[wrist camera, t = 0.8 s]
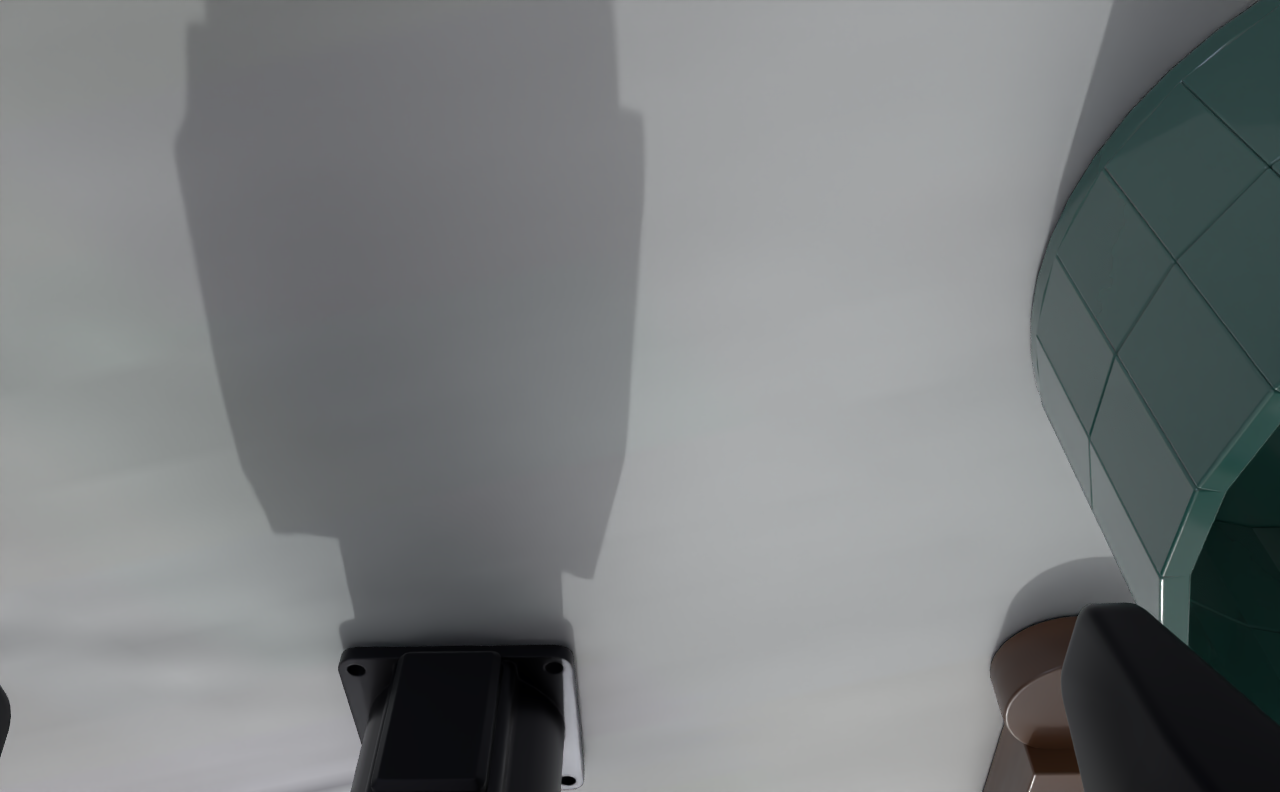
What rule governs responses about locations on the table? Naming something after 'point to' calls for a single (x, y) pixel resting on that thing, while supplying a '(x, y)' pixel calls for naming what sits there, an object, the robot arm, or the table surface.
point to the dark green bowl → (1181, 349)
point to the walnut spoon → (1033, 713)
